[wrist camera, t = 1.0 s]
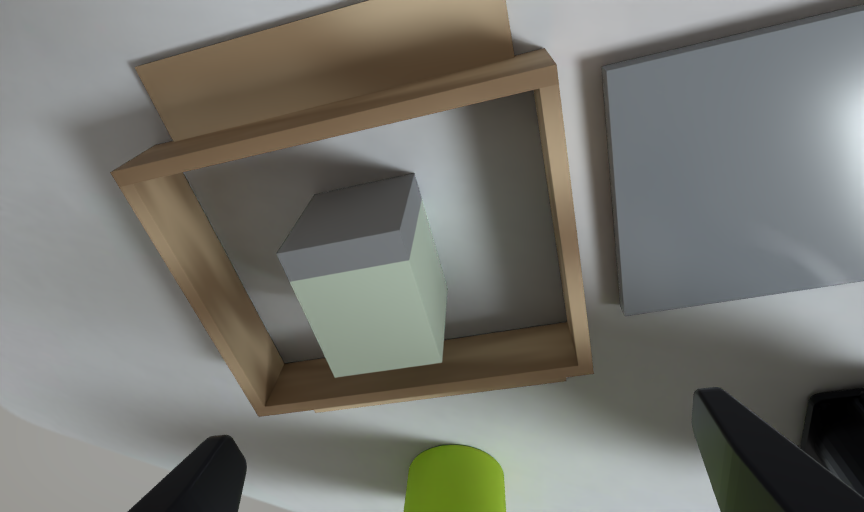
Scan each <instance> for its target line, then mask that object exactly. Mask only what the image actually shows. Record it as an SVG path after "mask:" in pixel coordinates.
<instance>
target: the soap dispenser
mask: <svg viewBox="0 0 864 512" xmlns="http://www.w3.org/2000/svg"><path fill="white" fill-rule="evenodd" d="M404 512H506V503H505V486H504V474H503V470H502V468H501V466H500V465H499V463H498V462H497V461H496V460H495V459H494V458H493V457H491V456H490V455H489V454H487V453H485V452H483V451H481V450H478V449H475V448H472V447H468V446H462V445H444V446H438V447H434V448H431V449H428V450H426V451H424V452H422V453H421V454H419V455H418V456H417V457H416V458H415V459H414V460H413V461H412V463H411V465H410V468H409V473H408V481H407V489H406V497H405V505H404Z"/></svg>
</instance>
